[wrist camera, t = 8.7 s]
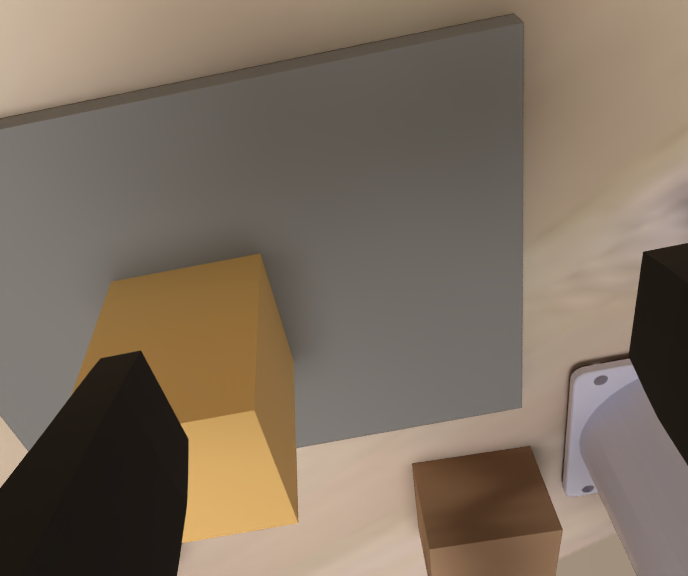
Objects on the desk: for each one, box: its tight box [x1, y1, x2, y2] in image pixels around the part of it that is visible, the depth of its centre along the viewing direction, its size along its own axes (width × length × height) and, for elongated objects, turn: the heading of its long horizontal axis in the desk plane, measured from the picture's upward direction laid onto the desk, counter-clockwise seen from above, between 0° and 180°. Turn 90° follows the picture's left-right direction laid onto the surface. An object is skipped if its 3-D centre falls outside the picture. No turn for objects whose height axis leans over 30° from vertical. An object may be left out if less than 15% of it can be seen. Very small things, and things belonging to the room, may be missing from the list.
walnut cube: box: [412, 446, 563, 576], centre depth 26 cm, size 5×5×4 cm
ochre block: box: [72, 254, 298, 543], centre depth 17 cm, size 4×4×6 cm
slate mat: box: [0, 14, 524, 452], centre depth 20 cm, size 18×14×1 cm
